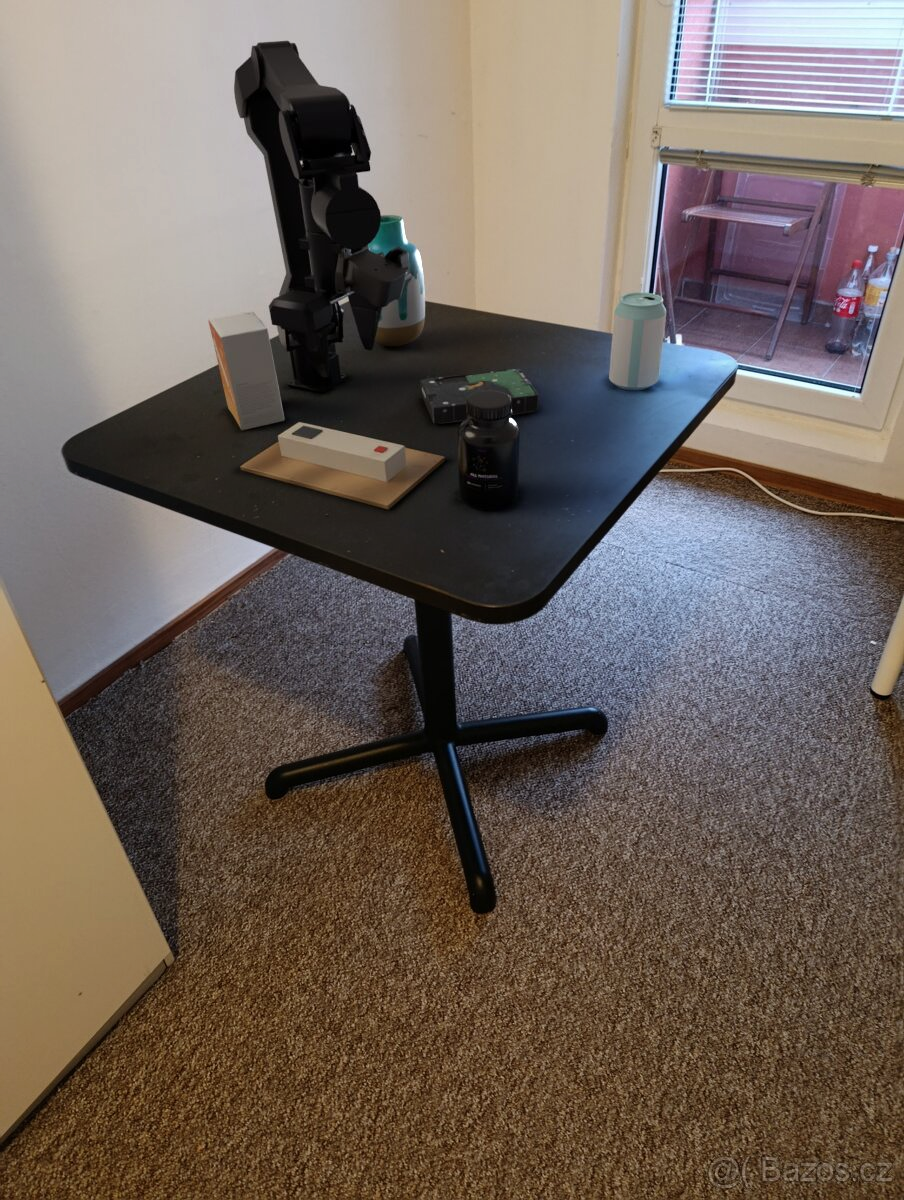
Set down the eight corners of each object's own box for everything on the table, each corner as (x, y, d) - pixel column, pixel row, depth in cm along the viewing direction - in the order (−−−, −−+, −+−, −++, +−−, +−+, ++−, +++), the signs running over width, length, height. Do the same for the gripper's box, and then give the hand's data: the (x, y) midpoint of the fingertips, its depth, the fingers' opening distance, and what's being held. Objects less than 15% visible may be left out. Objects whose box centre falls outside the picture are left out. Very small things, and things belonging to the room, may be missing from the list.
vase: (363, 334, 138) (350, 213, 126) (424, 329, 138) (417, 208, 127) (364, 357, 129) (350, 229, 118) (430, 352, 130) (422, 224, 118)
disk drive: (434, 428, 108) (540, 412, 110) (432, 408, 107) (540, 393, 109) (420, 397, 116) (519, 383, 118) (418, 379, 115) (519, 365, 117)
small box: (227, 409, 115) (206, 318, 107) (270, 400, 117) (253, 310, 109) (240, 431, 110) (219, 336, 102) (285, 421, 111) (268, 327, 104)
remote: (281, 455, 102) (277, 434, 100) (302, 441, 105) (298, 420, 103) (387, 482, 95) (384, 459, 94) (406, 466, 98) (404, 444, 97)
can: (611, 371, 121) (618, 289, 113) (659, 374, 119) (669, 291, 112) (605, 390, 115) (612, 305, 108) (656, 393, 114) (666, 307, 106)
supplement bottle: (474, 517, 89) (471, 417, 82) (450, 490, 94) (445, 393, 87) (529, 503, 91) (531, 404, 84) (502, 477, 97) (502, 381, 89)
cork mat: (240, 470, 101) (239, 466, 100) (304, 428, 109) (304, 424, 109) (388, 509, 92) (388, 505, 91) (445, 460, 100) (444, 456, 100)
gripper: (340, 257, 80) (357, 404, 90) (436, 214, 92) (442, 347, 102) (254, 245, 85) (279, 386, 94) (357, 205, 97) (369, 333, 107)
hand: (347, 362), depth 99 cm, fingers open, 9 cm apart
